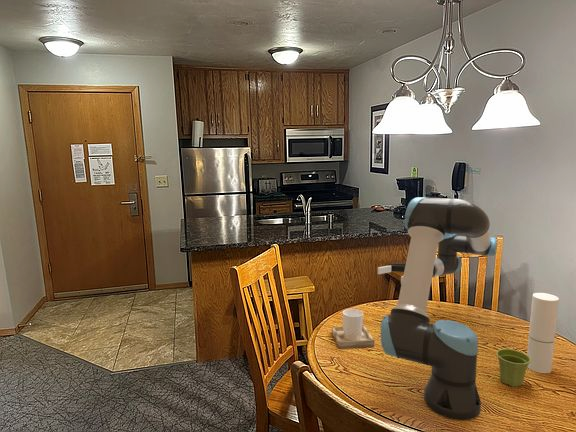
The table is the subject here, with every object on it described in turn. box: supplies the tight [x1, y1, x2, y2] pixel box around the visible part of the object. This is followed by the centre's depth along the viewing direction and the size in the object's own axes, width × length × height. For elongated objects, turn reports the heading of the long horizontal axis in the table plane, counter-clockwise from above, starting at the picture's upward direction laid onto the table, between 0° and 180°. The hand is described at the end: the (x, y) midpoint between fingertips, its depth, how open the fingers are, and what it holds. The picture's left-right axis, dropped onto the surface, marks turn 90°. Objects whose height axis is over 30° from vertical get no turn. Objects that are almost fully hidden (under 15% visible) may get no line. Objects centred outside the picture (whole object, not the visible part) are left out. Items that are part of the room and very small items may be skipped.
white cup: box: [342, 308, 364, 341], centre depth 153 cm, size 8×8×10 cm
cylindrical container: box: [526, 292, 560, 374], centre depth 130 cm, size 7×7×25 cm
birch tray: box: [331, 324, 375, 350], centre depth 154 cm, size 13×13×2 cm
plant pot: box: [495, 348, 531, 388], centre depth 124 cm, size 9×9×9 cm
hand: (389, 275), depth 155 cm, fingers open, 13 cm apart
